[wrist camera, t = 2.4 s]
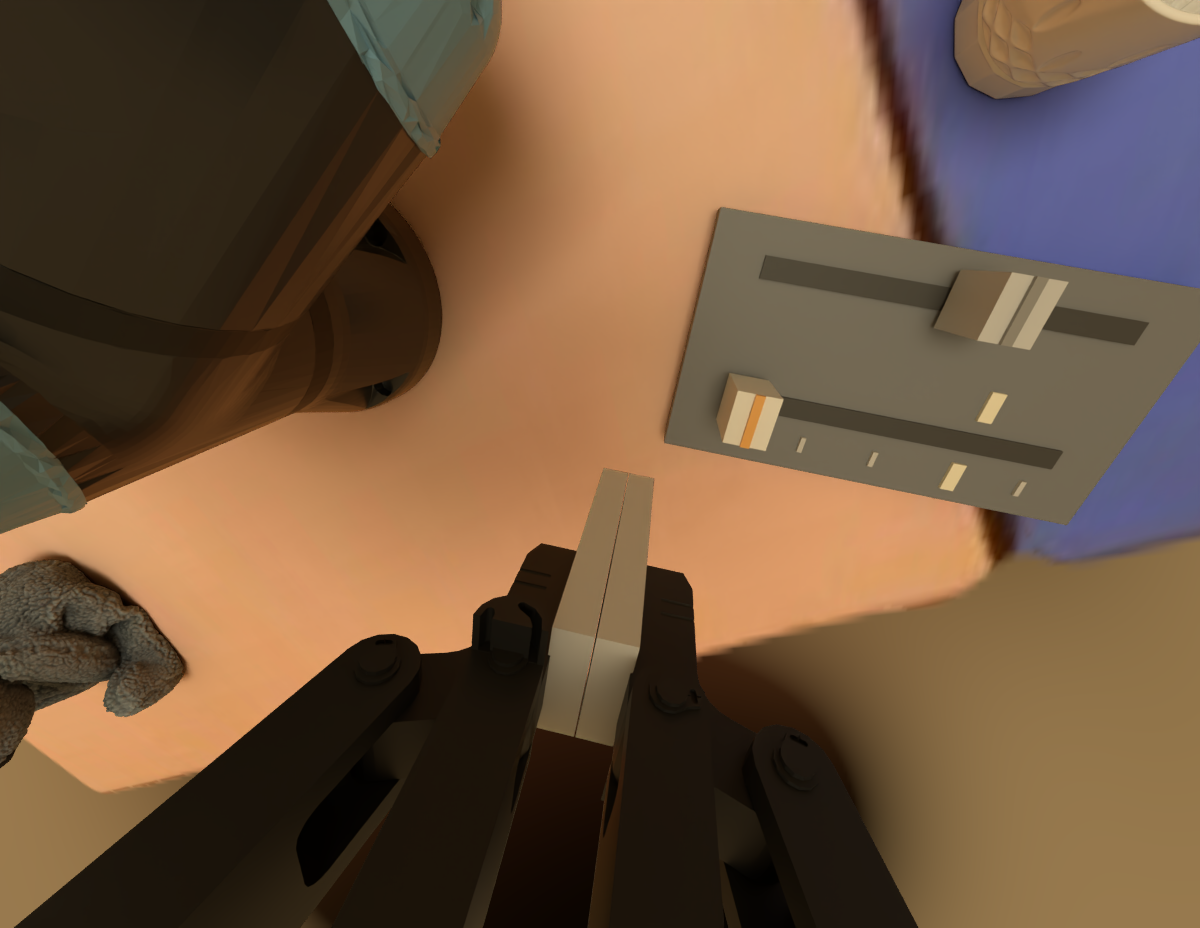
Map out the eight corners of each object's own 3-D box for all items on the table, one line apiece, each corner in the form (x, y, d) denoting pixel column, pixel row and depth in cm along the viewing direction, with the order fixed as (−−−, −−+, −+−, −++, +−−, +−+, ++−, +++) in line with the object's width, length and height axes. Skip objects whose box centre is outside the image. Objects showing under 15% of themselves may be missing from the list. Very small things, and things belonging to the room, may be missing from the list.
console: (664, 433, 32) (664, 444, 30) (718, 209, 26) (721, 206, 24) (1045, 510, 31) (1069, 527, 29) (1197, 291, 25) (1239, 294, 23)
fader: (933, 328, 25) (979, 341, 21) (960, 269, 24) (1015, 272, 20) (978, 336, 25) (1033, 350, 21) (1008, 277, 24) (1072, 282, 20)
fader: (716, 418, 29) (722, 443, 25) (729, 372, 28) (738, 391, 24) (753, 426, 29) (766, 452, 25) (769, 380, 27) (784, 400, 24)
